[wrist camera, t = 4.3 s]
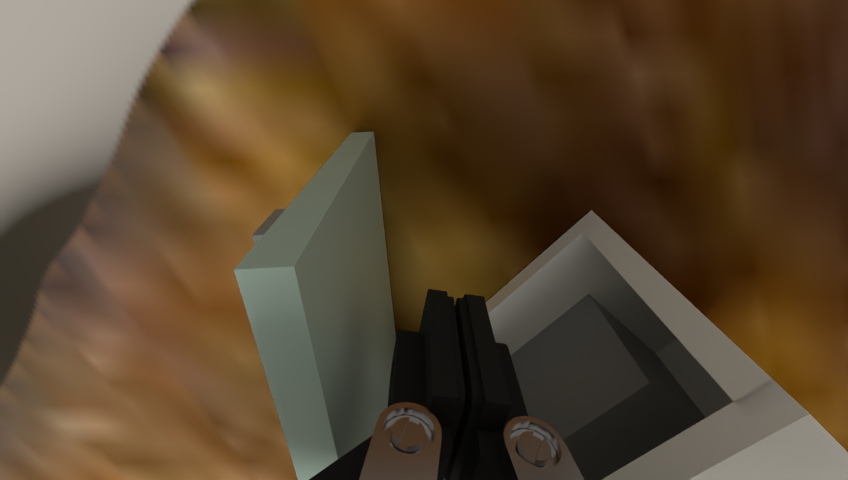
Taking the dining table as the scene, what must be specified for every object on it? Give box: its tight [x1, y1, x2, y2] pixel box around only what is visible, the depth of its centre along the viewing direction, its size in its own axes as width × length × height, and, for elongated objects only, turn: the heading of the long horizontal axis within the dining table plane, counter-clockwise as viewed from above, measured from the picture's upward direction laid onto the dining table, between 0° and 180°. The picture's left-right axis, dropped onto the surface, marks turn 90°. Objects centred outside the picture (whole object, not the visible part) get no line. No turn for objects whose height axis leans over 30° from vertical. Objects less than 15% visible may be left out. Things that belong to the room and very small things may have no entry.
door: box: [234, 131, 396, 480], centre depth 15 cm, size 2×14×12 cm, turn 3°
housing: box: [444, 210, 848, 480], centre depth 18 cm, size 10×14×12 cm
